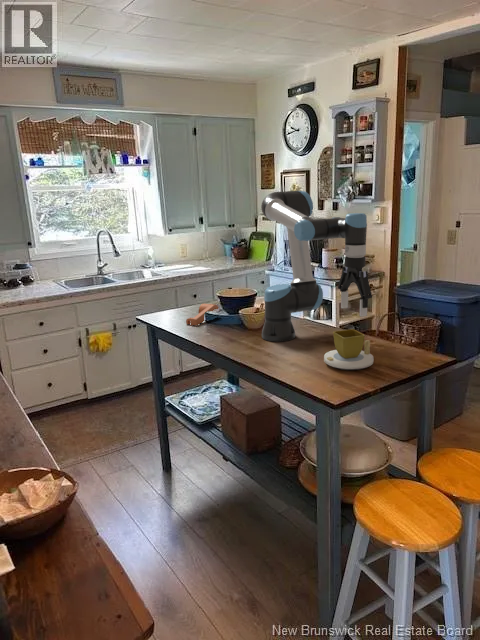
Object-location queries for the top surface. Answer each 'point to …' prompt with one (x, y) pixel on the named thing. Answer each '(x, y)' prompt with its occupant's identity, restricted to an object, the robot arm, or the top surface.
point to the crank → (201, 314)
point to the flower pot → (348, 343)
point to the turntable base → (348, 369)
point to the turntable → (350, 359)
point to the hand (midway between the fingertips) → (353, 311)
